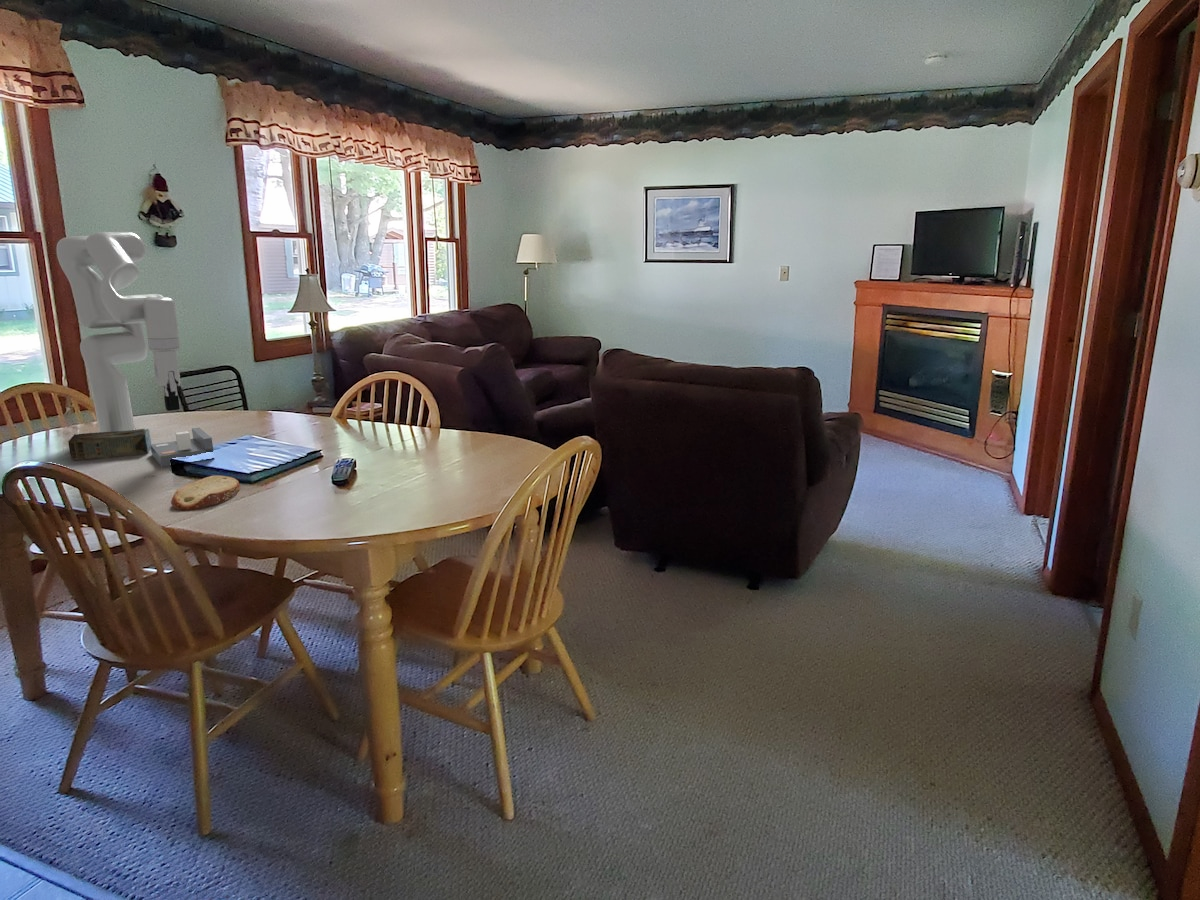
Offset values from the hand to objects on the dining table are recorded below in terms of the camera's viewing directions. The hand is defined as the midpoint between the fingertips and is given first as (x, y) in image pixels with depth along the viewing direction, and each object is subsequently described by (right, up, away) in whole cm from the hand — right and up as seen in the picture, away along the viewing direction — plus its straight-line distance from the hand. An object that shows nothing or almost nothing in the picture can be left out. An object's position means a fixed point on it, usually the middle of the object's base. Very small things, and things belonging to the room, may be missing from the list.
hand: (172, 409), depth 218 cm
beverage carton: (-20, -13, +6) cm, 24 cm away
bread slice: (+25, -23, -32) cm, 46 cm away
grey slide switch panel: (+2, -13, +2) cm, 13 cm away
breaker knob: (+5, -11, -3) cm, 12 cm away
